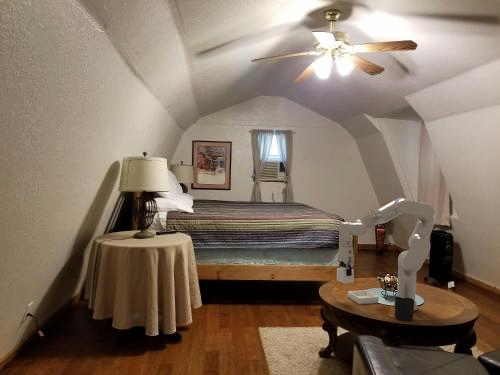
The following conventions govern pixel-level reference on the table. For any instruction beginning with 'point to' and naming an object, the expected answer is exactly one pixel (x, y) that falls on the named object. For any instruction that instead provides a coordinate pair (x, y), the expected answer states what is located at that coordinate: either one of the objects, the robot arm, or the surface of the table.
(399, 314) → the pen holder
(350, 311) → the table surface
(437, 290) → the table surface
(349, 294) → the tray
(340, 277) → the medicine bottle
